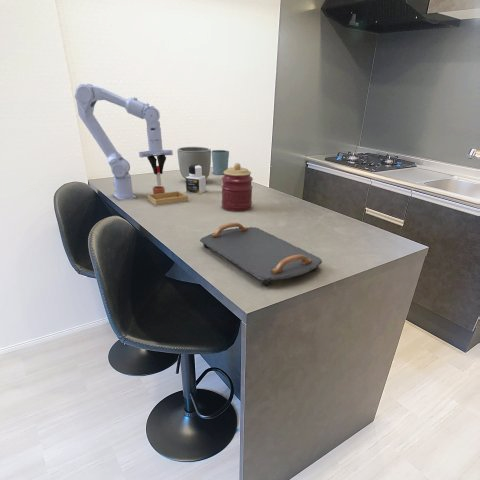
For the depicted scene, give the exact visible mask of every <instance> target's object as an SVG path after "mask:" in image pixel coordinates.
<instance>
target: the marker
mask: <svg viewBox="0 0 480 480" xmlns="http://www.w3.org/2000/svg"><path fill="white" fill-rule="evenodd" d="M156 167H157V175H156V181H157V182H156V183H157V185H156V186H162V177H161V174H160V166H159V165H156Z"/></svg>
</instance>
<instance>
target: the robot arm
mask: <svg viewBox="0 0 480 480" xmlns="http://www.w3.org/2000/svg"><path fill="white" fill-rule="evenodd" d="M74 99H75V101H76V107H77V113H78V117H79V118H80V119H81V120H82V122H83V124H84V125H85V127H86V128H87V130H88V132H89V134H91V135H92V137H93V139H94V140H95V142H96V144H97V145H98V146H99V148H100V150H101V151H102V152H103V154H104V155H105V157H106V158H107V159H106V160H107V163H108V165H109V166H110V170H111V173H112V175H113V183H112V184H113V187H114V188H113V189H114V193H113V197H115V198H116V199H118V200H127V199H135V198H137V196H136V195H135V194H134V189H133V183H132V176H131V173H129V172H130V170H131V164H130V162H129V161H128V160H127V159H125V158H124V157H123V156H122V154H121V153H120V152H118V149H116V147H115V145H114V144H113V143H112V141H111V140H110V138H109V136H108V135H107V134H106V132H105V130H104V129H103V127H102V125H101V124H100V123H99V121H98V119H97V118H96V116H95V115H94V110H95V105H96V104H97V102H98V101H107V102H109V103H111V104H113V105H117V106H118V107H121V108H124V109H125V112H126V113H128V114H130V115H132V116H134V117H136V118H139V119H141V120H145V122H146V134H147V135H146V136H147V144H148V150H145V151H138V157H139V158H142V159H143V158H147V160H148V162H149V164H150V166H151V168H152V172H153V174H154V175H156V176H157V167H156V166H160V175H163V172H164V166H165V162H166V160H167V156H174V153H173V150H172V149H163V140H162V128H161V122H160V118H161V112H160V110H159V109H158V108H157V107H156V106H154V105H150V103H148V102H147V103H145V102H143V101H140V100H138V97H136V96H134V97H128V98H125V97H122V96H121V95H119V94H117V93H114V92H112V91H110V90H108V89H106V88H104V87H100V86H97V85H93V84H91V83H87V84H85V83H80V84H78V85H77V86H76V89H75V93H74ZM157 164H158V165H157Z"/></svg>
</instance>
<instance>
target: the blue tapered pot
mask: <svg viewBox="0 0 480 480" xmlns="http://www.w3.org/2000/svg"><path fill="white" fill-rule="evenodd" d="M229 158H230V151H229V150H225V149H213V150H211V163H212V173H213V174H214V175H216V176H224V175H225V174H224V171H225V170H227V169H228V168H229Z"/></svg>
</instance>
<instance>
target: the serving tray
mask: <svg viewBox="0 0 480 480" xmlns="http://www.w3.org/2000/svg"><path fill="white" fill-rule="evenodd" d="M199 242H200V243H201V244H203V247H204V248H205V249H208V248H209V249H211V250H212V251H214V252H216V253H217V254H219V255H220V256H222V257H224V258H225V259H226V260H228V261H229V262H232V264H234V265H236V266H238V267H239V268H240V269H242V270H244V271H245V272H247V273H248V274H250V275H251V276H253V277H255V278H257V279H258V280H259V281H261V284H262V286H263V287H268V286H269V285H270V283H271V282H270V281H277V280H283V279H284V280H285V279H289V278H294V277H298V276H301V275H305V274H307V273H309V272H311V271H317V269H319V266H320V265H321V264H322V263H323V260H322V258H321V257H319V256H317V255H315V254H313V253H310V252H308V251H306V250H305V249H302V248H301V247H299V246H298V247H297V246H296V245H293V244H292V243H290V242H288V241H286V240H284V239H282V238H279V237H278V236H275V235H274V234H271V233H269V232H267V231H265V230H263V229H260V228H259V227H254V226H249V227H247V226H243V225H242V224H241V223H239V222H229V223H224V224H223V225H220V226H219V227H218V228H216V230H215V231H214V232H212V233H210V234H208V235H205V236H203V237H201V238H200V239H199Z"/></svg>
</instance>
